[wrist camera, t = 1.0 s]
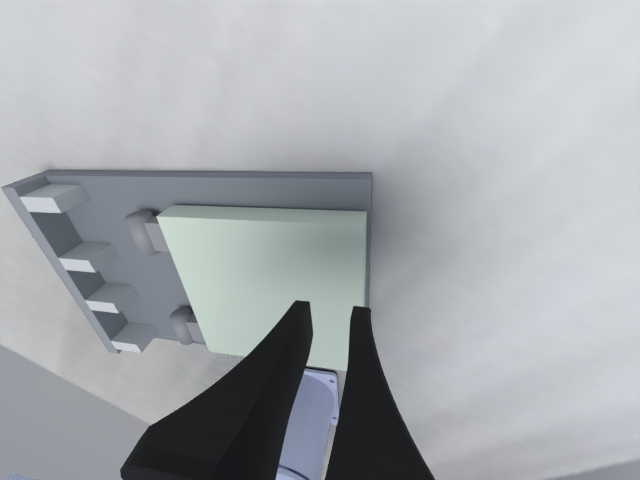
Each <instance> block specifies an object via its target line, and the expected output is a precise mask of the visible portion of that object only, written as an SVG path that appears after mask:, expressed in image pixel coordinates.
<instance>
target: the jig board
mask: <svg viewBox="0 0 640 480" xmlns="http://www.w3.org/2000/svg"><path fill="white" fill-rule="evenodd" d="M1 189H2V190H3V192H4V193H5V195H6V196H7V198H8V200H9V201H10V203H11V204H12V206H13V207H14V209H15V210H16V212H17V213H18V215H19V216H20V218H21V219H22V221H23V222H24V224H25V225H26V227H27V228H28V230H29V231H30V233H31V234H32V236H33V237H34V239H35V241H36V242H37V244H38V245H39V247H40V248H41V250H42V251H43V253H44V254H45V256H46V257H47V259H48V260H49V262H50V263H51V265H52V266H53V268H54V269H55V271H56V272H57V274H58V275H59V277H60V278H61V280H62V282H63V283H64V285H65V286H66V288H67V289H68V291H69V292H70V294H71V295H72V297H73V298H74V300H75V301H76V303H77V304H78V306H79V307H80V309H81V310H82V312H83V313H84V315H85V316H86V318H87V319H88V321H89V323H90V324H91V326H92V327H93V329H94V330H95V332H96V333H97V335H98V336H99V338H100V339H101V341H102V342H103V344H104V345H105V347H106V348H107V350H108V351H109V352H112V353H118V354H119V353H120V352H121V351H122V350H126V351H132V352H139V353H142V352H143V350H144V349H145V348H146V347H147V346H148V344H149V343H150V342H151V341H152V339H153V338H161V339H168V340H175V341H180V340H179V338H178V336H177V334H176V332H175V329H174V327H173V325H172V323H171V321H170V315H171V313H172V312H173V311H175V310H176V309H179V308H182V307H187V308H189V309H190V310H191V313H192V314H194V312H193V309H192V306H191V304H190V301H189V299H188V296H187V294H186V291H185V289H184V286H183V284H182V281H181V278H180V276H179V273H178V271H177V268H176V266H175V263H174V261H173V258H172V255H171V253H170V252H165V251H161V252H160V253H158V254H156V255H153V256H141V255H140V253H139V251H138V249H137V246H136V244H135V242H134V240H133V238H132V236H131V233H130V231H129V229H128V227H127V225H126V222H125V220H124V218H125V217H126V216H127V215H128V214H130V213H133V212H136V211H140V210H149V211H151V213H152V215H153V216H155V217H156V216H157V215H159V214H160V213H162V212H163V211H164V210H166V209H167V208H169V207H170V206H171V205H190V206H220V207H250V208H280V209H310V210H340V211H367V222H366V280H365V307H368V308H369V275H370V236H371V198H372V173H350V172H217V171H84V170H47V171H44V172H42V173H39V174H36V175H33V176H31V177H28V178H25V179H22V180H20V181H17V182H14V183H11V184H9V185H6V186H3V187H1ZM194 343H197V344H204V345H206V342H203V341H195V342H194Z"/></svg>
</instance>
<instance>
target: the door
mask: <svg viewBox="0 0 640 480" xmlns="http://www.w3.org/2000/svg"><path fill="white" fill-rule="evenodd" d="M124 220H125V222H126V225H127V227H128V229H129V231H130V233H131V236H132V238H133V240H134V242H135V244H136V246H137V249H138V251H139V253H140V255H141V256H153V255H156V254H158V253H160V252H161V251H165V252H170V253H171V255H172V258H173V261H174V263H175V266H176V268H177V271H178V273H179V276H180V278H181V281H182V284H183V286H184V289H185V291H186V294H187V296H188V299H189V301H190V304H191V306H192V309H193V312H194V314H192V313H191V310H190V309H189V308H187V307H182V308H179V309H176V310H175V311H173V312H172V313H171V315H170V321H171V323H172V325H173V327H174V329H175V332H176V334H177V336H178V338H179V340H180V343H181V344H183V345H189V344H192V343H194V342H195V341H203V342H206V345H207V347H208V350H209V352H216V353H223V354H230V355H237V356H244V357H246V356H247V355H248V354H249V353H250V352H251V351H252V350H253V349H254V348H255V347H256V346H257V345H258V344H259V343H260V342H261V341H262V340H263V339H264V338H265V337H266V335H267V334H268V333H269V332H270V331H271V330H272V329H273V327H274V326H275V325H276V324H277V323H278V322H279V320H280V319H281V318H282V317H283V315H284V314H285V313H286V312H287V310H288V309H289V308H290V306H291V305H292V304H293V303H294V302H295V301H296V300H299V301H309V302H310V308H311V317H312V326H313V339H312V344H311V349H310V354H309V358H308V361H307V364H306V365H307V366H314V367H321V368H328V369H335V370H342V371H347V366H348V351H349V332H350V318H351V313H352V309H353V306H361V307H365V280H366V222H367V211H340V210H310V209H280V208H250V207H220V206H190V205H171V206H170V207H169V208H167V209H166V210H164V211H163V212H162V213H160V214H159V215H157V216H156V217H155V216H153V215H152V213H151V211H149V210H140V211H136V212H133V213H130V214H128V215H127V216H126V217H125V218H124Z"/></svg>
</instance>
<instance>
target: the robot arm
mask: <svg viewBox="0 0 640 480" xmlns="http://www.w3.org/2000/svg"><path fill="white" fill-rule="evenodd" d="M312 339H313V326H312V317H311V308H310V302H309V301H299V300H296V301H295V302H294V303H293V304H292V305H291V306H290V308H289V309H288V310H287V312H286V313H285V314H284V315H283V317H282V318H281V319H280V320H279V322H278V323H277V324H276V325H275V326H274V327H273V329H272V330H271V331H270V332H269V333H268V334H267V335H266V337H265V338H264V339H263V340H262V341H261V342H260V343H259V344H258V345H257V346H256V347H255V348H254V349H253V350H252V351H251V352H250V353H249V354H248V355H247V356H246V357H245V358H244V359H243V360H242V361H241V362H240V363H239V364H237V365H236V366H235V367H234V368H233V369H232V370H231V371H229V372H228V373H227V374H226V375H225V376H223V377H222V378H221V379H220V380H218V381H217V382H216V383H215V384H213V385H212V386H211V387H209V388H208V389H207V390H205V391H204V392H203V393H201V394H200V395H198V396H197V397H195V398H194V399H193V400H191V401H190V402H188V403H187V404H185V405H184V406H182V407H181V408H179V409H178V410H176V411H174V412H173V413H171V414H169V415H168V416H166V417H164V418H163V419H161V420H159V421H158V422H156V423H154V424H153V425H151V426H149V427H148V429H147V430H146V432H145V433H144V434H143V435H142V437H141V438H140V440H139V441H138V443H137V444H136V446H135V448H134V449H133V451H132V452H131V454H130V455H129V457H128V458H127V460H126V462H125V463H124V465H123V466H122V468H121V470H120V472H121V477H122V479H123V480H321V476H322V470H323V465H324V459H325V453H326V447H327V441H328V435H329V429H330V424H333V425H337V427H336V432H335V437H334V442H333V446H332V451H331V455H330V460H329V464H328V469H327V473H326V477H325V480H435V479H434V477H433V475H432V474H431V472H430V470H429V468H428V467H427V465H426V463H425V461H424V460H423V458H422V456H421V454H420V452H419V450H418V449H417V447H416V445H415V443H414V441H413V439H412V437H411V435H410V433H409V431H408V429H407V427H406V425H405V423H404V421H403V419H402V417H401V415H400V413H399V410H398V408H397V406H396V403H395V401H394V399H393V396H392V394H391V391H390V389H389V386H388V384H387V381H386V378H385V376H384V373H383V370H382V367H381V364H380V360H379V357H378V353H377V349H376V346H375V342H374V337H373V332H372V326H371V309H370V308H368V307H361V306H353V309H352V313H351V318H350V332H349V351H348V366H347V374H346V380H345V385H344V391H343V396H342V401H341V407H340V412H339V401H338V384H337V375H336V374H335V373H333V372H327V371H320V370H313V369H306V368H305V367H306V364H307V361H308V358H309V354H310V349H311V344H312ZM6 480H37V479H34V478H29V477H26V476H23V475H19V474H15V473H14V474H11V475H10V476H9V477H8V478H7V479H6Z"/></svg>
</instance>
